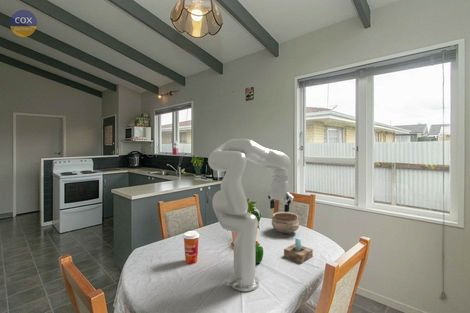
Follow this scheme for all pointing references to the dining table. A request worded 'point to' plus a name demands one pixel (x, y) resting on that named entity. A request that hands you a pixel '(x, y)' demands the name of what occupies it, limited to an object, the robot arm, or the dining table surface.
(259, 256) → the bell pepper
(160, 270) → the dining table surface
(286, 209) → the robot arm
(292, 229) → the cooking pot
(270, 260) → the dining table surface
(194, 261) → the coffee cup
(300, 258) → the socket
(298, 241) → the peg
